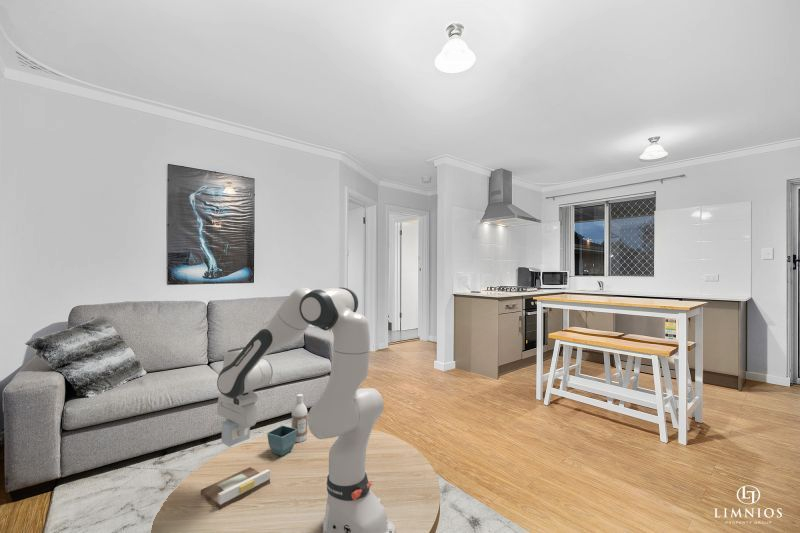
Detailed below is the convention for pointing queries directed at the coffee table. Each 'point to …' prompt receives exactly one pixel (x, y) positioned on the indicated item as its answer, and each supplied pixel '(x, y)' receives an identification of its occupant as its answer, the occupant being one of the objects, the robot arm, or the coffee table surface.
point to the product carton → (233, 433)
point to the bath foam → (300, 419)
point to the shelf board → (228, 482)
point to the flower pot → (282, 439)
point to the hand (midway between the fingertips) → (235, 433)
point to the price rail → (243, 486)
